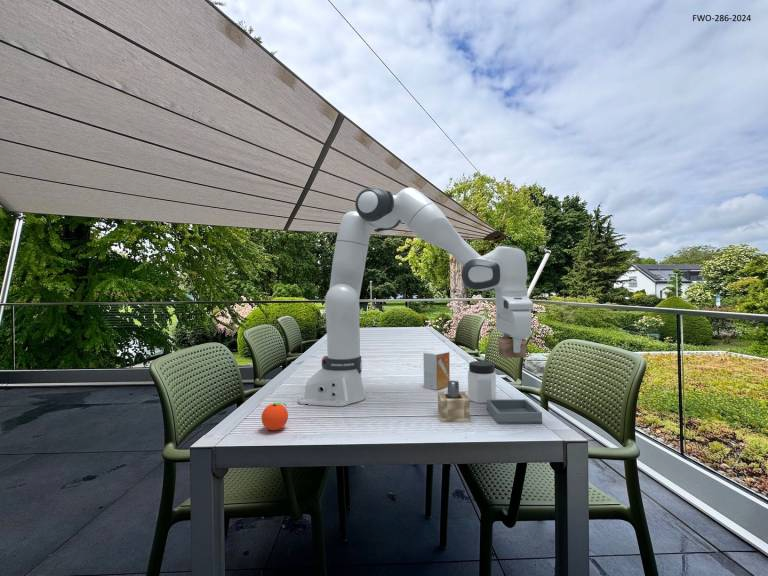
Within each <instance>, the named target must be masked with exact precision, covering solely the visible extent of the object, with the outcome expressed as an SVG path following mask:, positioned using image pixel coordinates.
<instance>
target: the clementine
mask: <svg viewBox="0 0 768 576" xmlns="http://www.w3.org/2000/svg"><path fill="white" fill-rule="evenodd" d="M285 406H286V407H285ZM287 408H288V406H287V405H286V403H284V402H274V403H270V404H268V405H267V406H266V407H265V408H264V410H263V411H262V413H261V423H262V425H263V427H264V428H266V429H267V430H269V431H278V430H281V429H282V428H283V427H284V426H285V425H286V424H287V421H288V420H289V413H288V410H287Z"/></svg>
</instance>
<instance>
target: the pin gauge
mask: <svg viewBox="0 0 768 576" xmlns="http://www.w3.org/2000/svg"><path fill="white" fill-rule="evenodd" d="M447 383H448V387H447V392H448V399H459V392H460V387H459V385H460V384H459V381H458V380H450V381H448V382H447Z"/></svg>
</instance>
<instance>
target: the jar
mask: <svg viewBox="0 0 768 576" xmlns="http://www.w3.org/2000/svg"><path fill="white" fill-rule="evenodd" d="M495 369H496V367H495V363H494V362H491V361H487V360H476V361H475V360H474V361H470V362H469V363H468V371H467V386H468V387H467V391H468V395H467V396H468V398H469V399H470V402H474V403H477V404H487V400H497V388H496V387H497V381H496V379H497V378H496V371H495Z"/></svg>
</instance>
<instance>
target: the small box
mask: <svg viewBox="0 0 768 576" xmlns="http://www.w3.org/2000/svg"><path fill="white" fill-rule="evenodd" d="M450 371H451V370H450V351H446V350H439V349H436V350H432V351H431V350H430V351H427V352H423V388H425V389H429V390H434V391H438V390H442V389H445V388H448V383H447V382H448V381H451V379H450Z"/></svg>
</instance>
